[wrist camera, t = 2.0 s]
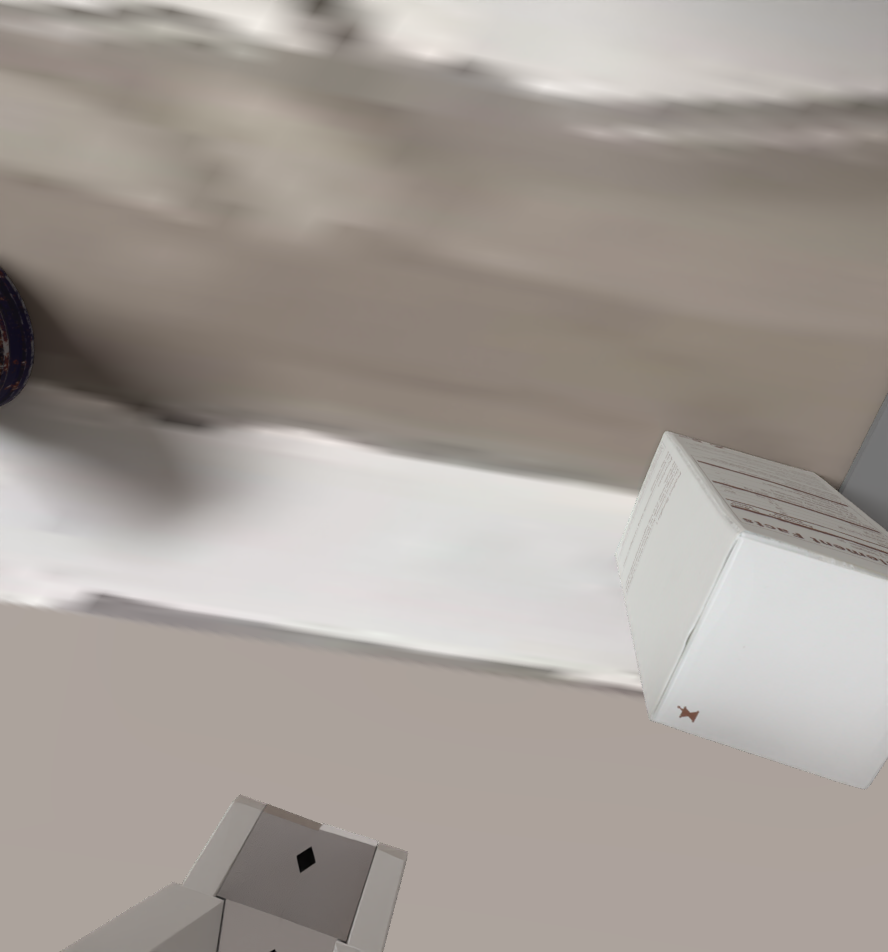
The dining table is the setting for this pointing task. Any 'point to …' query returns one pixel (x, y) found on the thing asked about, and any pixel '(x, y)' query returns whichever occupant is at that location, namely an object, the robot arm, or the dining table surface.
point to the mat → (871, 472)
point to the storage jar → (13, 341)
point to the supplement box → (759, 609)
